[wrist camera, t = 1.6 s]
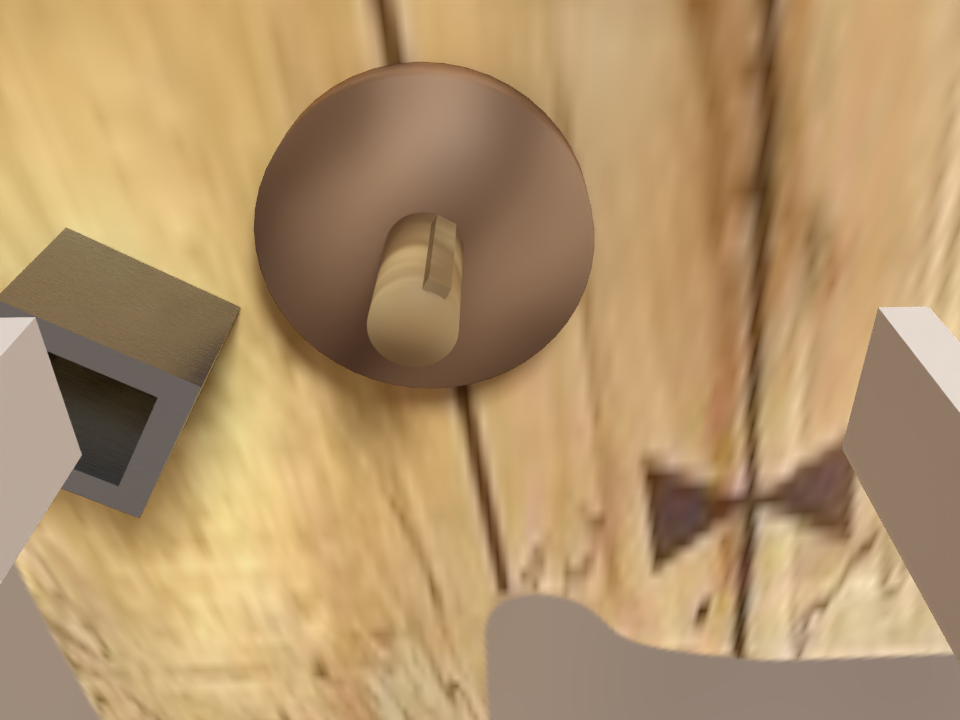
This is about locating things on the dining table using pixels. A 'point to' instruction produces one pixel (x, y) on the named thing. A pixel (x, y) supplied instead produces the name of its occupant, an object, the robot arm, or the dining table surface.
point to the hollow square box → (120, 359)
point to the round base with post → (425, 226)
